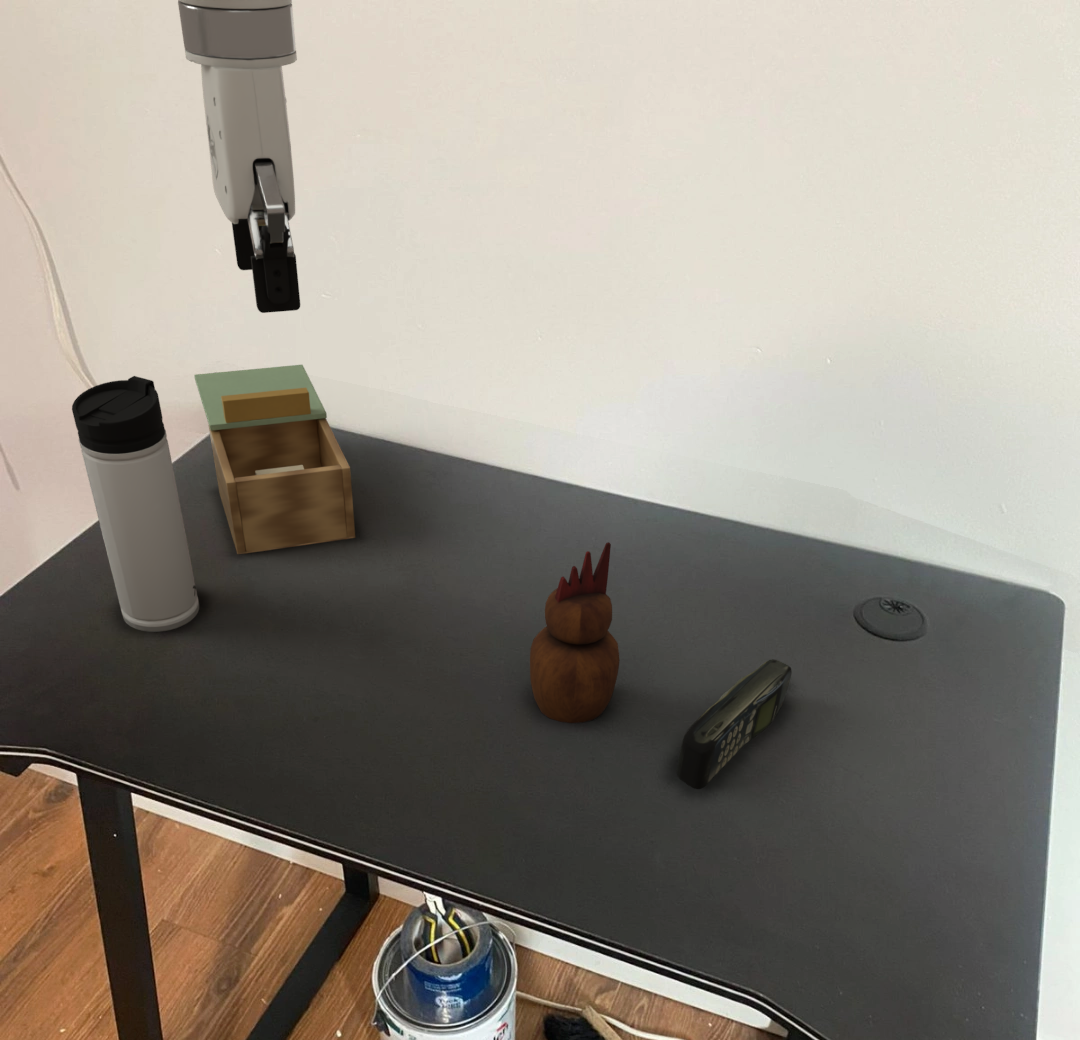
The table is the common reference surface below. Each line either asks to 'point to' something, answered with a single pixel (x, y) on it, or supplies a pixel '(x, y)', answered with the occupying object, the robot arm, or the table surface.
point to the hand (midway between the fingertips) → (268, 288)
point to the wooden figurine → (576, 647)
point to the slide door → (258, 397)
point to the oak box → (283, 485)
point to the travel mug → (137, 502)
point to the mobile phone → (732, 722)
